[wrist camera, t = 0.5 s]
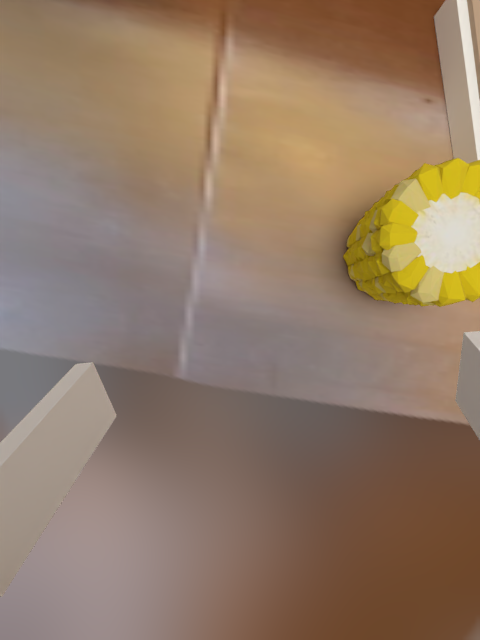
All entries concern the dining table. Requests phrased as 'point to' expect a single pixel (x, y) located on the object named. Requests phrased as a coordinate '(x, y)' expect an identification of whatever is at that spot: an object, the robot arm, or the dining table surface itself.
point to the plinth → (461, 73)
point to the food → (422, 238)
